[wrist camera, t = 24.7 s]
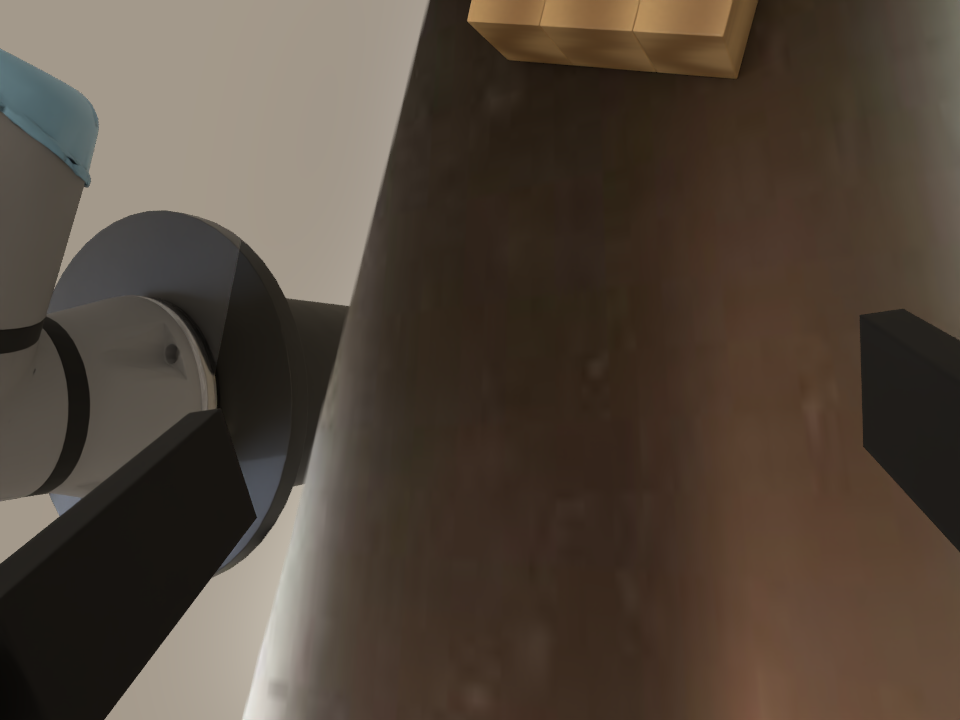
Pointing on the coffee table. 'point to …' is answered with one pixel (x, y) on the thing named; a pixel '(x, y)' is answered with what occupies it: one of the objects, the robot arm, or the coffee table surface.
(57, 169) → the robot arm
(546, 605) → the coffee table surface
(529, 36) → the holder
